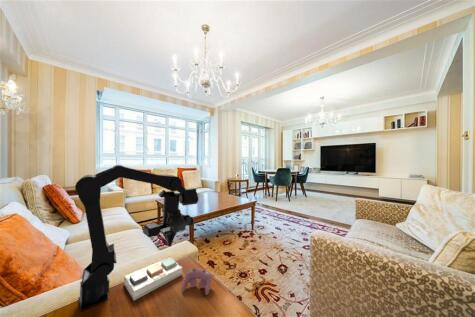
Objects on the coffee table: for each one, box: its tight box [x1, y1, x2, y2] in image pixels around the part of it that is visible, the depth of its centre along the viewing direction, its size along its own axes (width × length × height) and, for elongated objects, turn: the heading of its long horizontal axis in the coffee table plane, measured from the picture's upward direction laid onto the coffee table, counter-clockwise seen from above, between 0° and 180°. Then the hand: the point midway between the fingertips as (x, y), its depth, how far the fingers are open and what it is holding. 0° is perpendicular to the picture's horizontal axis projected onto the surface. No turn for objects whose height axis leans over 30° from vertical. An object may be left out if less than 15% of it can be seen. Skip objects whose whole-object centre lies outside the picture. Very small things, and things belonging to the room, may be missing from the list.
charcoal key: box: [130, 270, 148, 286], centre depth 60 cm, size 4×4×2 cm
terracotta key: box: [146, 264, 163, 277], centre depth 64 cm, size 4×4×2 cm
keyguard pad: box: [123, 256, 183, 301], centre depth 64 cm, size 17×10×3 cm, turn 139°
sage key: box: [161, 257, 177, 270], centre depth 68 cm, size 4×4×2 cm
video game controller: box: [181, 268, 213, 296], centre depth 61 cm, size 10×5×7 cm, turn 85°
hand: (169, 246), depth 68 cm, fingers closed
